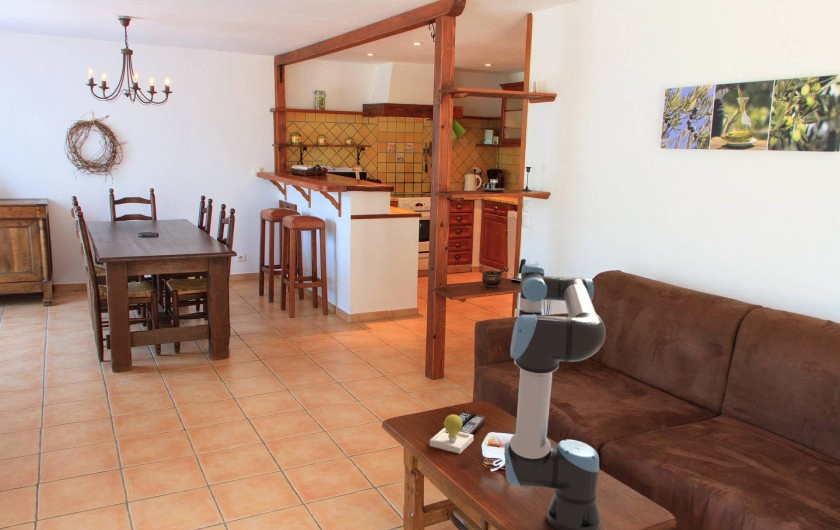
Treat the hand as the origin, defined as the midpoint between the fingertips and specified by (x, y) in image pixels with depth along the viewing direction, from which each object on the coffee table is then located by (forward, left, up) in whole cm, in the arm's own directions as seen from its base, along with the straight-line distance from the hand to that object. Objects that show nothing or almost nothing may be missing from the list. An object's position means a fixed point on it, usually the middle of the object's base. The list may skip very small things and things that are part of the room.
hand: (527, 369), depth 219 cm
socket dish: (-4, +26, -32) cm, 41 cm away
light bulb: (-5, +25, -31) cm, 40 cm away
